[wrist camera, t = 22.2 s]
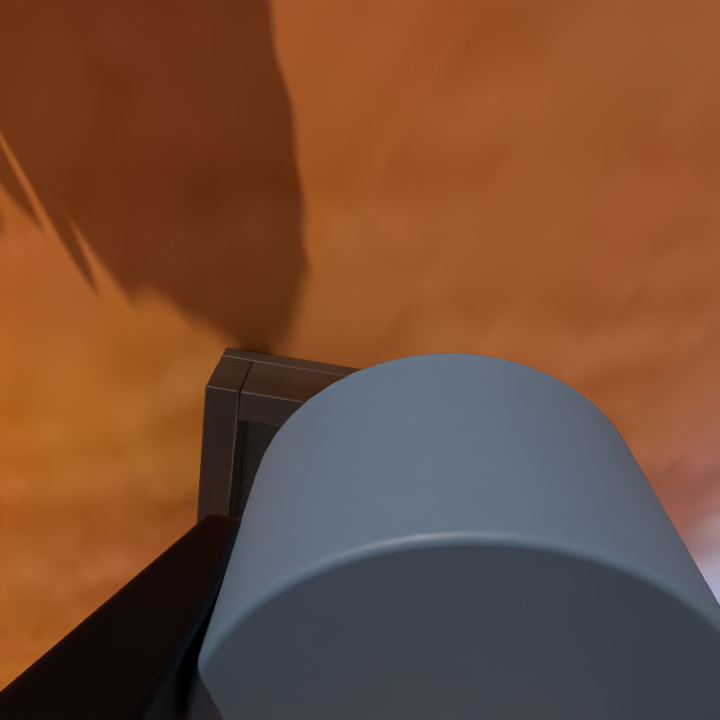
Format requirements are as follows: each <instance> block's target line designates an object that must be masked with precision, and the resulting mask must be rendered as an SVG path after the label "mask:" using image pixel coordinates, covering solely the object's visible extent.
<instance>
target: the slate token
mask: <svg viewBox="0 0 720 720" xmlns="http://www.w3.org/2000/svg"><path fill="white" fill-rule="evenodd" d="M186 720H720V605H719V603H718V602H717V600H716V598H715V596H714V595H713V593H712V591H711V589H710V588H709V586H708V584H707V583H706V581H705V579H704V577H703V576H702V574H701V572H700V570H699V569H698V567H697V565H696V564H695V562H694V560H693V558H692V557H691V555H690V553H689V551H688V550H687V548H686V546H685V544H684V543H683V541H682V539H681V538H680V536H679V534H678V532H677V531H676V529H675V527H674V525H673V524H672V522H671V520H670V519H669V517H668V515H667V513H666V512H665V510H664V508H663V506H662V505H661V503H660V501H659V499H658V498H657V496H656V494H655V493H654V491H653V489H652V487H651V486H650V484H649V482H648V480H647V479H646V477H645V475H644V474H643V472H642V470H641V468H640V467H639V465H638V463H637V461H636V460H635V458H634V456H633V455H632V453H631V451H630V449H629V448H628V446H627V444H626V442H625V441H624V439H623V438H622V436H621V435H620V434H619V432H618V431H617V429H616V428H615V427H614V425H613V424H612V422H611V421H610V420H609V419H608V418H607V417H606V416H605V415H604V414H603V413H602V412H601V411H600V410H599V409H598V408H597V407H596V406H595V405H594V404H593V403H592V402H591V401H589V400H588V399H587V398H585V397H584V396H583V395H581V394H580V393H579V392H577V391H576V390H575V389H573V388H572V387H570V386H568V385H566V384H565V383H563V382H561V381H559V380H557V379H556V378H554V377H552V376H550V375H548V374H546V373H543V372H540V371H538V370H535V369H533V368H530V367H528V366H525V365H522V364H518V363H514V362H511V361H507V360H503V359H499V358H495V357H488V356H480V355H472V354H443V353H437V354H428V355H418V356H409V357H405V358H400V359H396V360H392V361H387V362H383V363H380V364H377V365H374V366H371V367H369V368H366V369H363V370H360V371H357V372H355V373H353V374H351V375H349V376H347V377H345V378H343V379H341V380H339V381H337V382H335V383H333V384H331V385H330V386H328V387H327V388H325V389H324V390H322V391H321V392H319V393H318V394H316V395H315V396H314V397H312V398H311V399H309V400H308V401H307V402H306V403H305V404H304V405H303V406H301V407H300V408H299V409H298V410H297V411H296V412H295V413H294V414H293V415H291V417H290V418H289V419H288V420H287V421H286V423H285V424H284V425H283V426H282V427H281V429H280V430H279V431H278V432H277V433H276V435H275V437H274V438H273V440H272V442H271V443H270V445H269V447H268V448H267V450H266V452H265V453H264V456H263V458H262V461H261V463H260V466H259V468H258V471H257V473H256V477H255V480H254V483H253V486H252V489H251V492H250V495H249V498H248V501H247V504H246V507H245V510H244V513H243V516H242V521H241V525H240V528H239V531H238V535H237V538H236V541H235V544H234V547H233V551H232V554H231V557H230V560H229V563H228V566H227V569H226V572H225V575H224V579H223V582H222V585H221V588H220V591H219V594H218V597H217V600H216V603H215V606H214V609H213V612H212V615H211V618H210V620H209V623H208V626H207V629H206V632H205V635H204V637H203V640H202V643H201V646H200V649H199V652H198V655H197V658H196V661H195V664H194V667H193V670H192V673H191V676H190V681H189V686H188V691H187V696H186Z"/></svg>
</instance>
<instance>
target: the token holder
mask: <svg viewBox="0 0 720 720" xmlns="http://www.w3.org/2000/svg"><path fill="white" fill-rule="evenodd" d="M360 370H361V369H355V368H349V367H343V366H337V365H331V364H325V363H319V362H313V361H307V360H301V359H295V358H289V357H283V356H277V355H271V354H265V353H259V352H253V351H247V350H241V349H235V348H229V347H228V348H226V350H225V352H224V353H223V355H222V357H221V359H220V361H219V363H218V364H217V366H216V368H215V370H214V372H213V374H212V376H211V378H210V379H209V381H208V383H207V385H206V388H205V403H204V419H203V434H202V450H201V465H200V480H199V496H198V511H197V523H199V522H200V521H201V520H202V519H203V518H204V517H206V516H207V515H209V514H220V515H225V516H231V517H237V518H240V519H241V520H242V516H243V513H244V510H245V507H246V504H247V501H248V498H249V495H250V492H251V489H252V486H253V483H254V480H255V477H256V473H257V471H258V468H259V466H260V463H261V461H262V458H263V456H264V453H265V452H266V450H267V448H268V447H269V445H270V443H271V442H272V440H273V438H274V437H275V435H276V433H277V432H278V431H279V430H280V429H281V427H282V426H283V425H284V424H285V423H286V421H287V420H288V419H289V418H290V417H291V415H293V414H294V413H295V412H296V411H297V410H298V409H299V408H300V407H301V406H303V405H304V404H305V403H306V402H307V401H308V400H309V399H311V398H312V397H314V396H315V395H316V394H318V393H319V392H321V391H322V390H324V389H325V388H327V387H328V386H330V385H331V384H333V383H335V382H337V381H339V380H341V379H343V378H345V377H347V376H349V375H351V374H353V373H355V372H357V371H360Z"/></svg>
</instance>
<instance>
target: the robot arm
mask: <svg viewBox="0 0 720 720" xmlns="http://www.w3.org/2000/svg"><path fill="white" fill-rule="evenodd" d="M241 521H242V520H241V519H240V518H237V517H231V516H225V515H220V514H209V515H207V516H206V517H204V518H203V519H202V520H201V521H200V522H199V523H197V524H196V525H195V526H194V527H193V528H192V529H190V530H189V531H188V532H187V533H186V534H185V535H183V536H182V537H181V538H180V539H179V540H178V541H176V542H175V543H174V544H173V545H172V546H171V547H169V548H168V549H167V550H166V551H165V552H163V553H162V554H161V555H160V556H159V557H158V558H156V559H155V560H154V561H153V562H152V563H151V564H149V565H148V566H147V567H146V568H145V569H144V570H142V571H141V572H140V573H139V574H138V575H137V576H135V577H134V578H133V579H132V580H131V581H130V582H128V583H127V584H126V585H125V586H124V587H123V588H121V589H120V590H119V591H118V592H117V593H116V594H114V595H113V596H112V597H111V598H110V599H109V600H107V601H106V602H105V603H104V604H103V605H101V606H100V607H99V608H98V609H97V610H96V611H94V612H93V613H92V614H91V615H90V616H89V617H87V618H86V619H85V620H84V621H83V622H82V623H80V624H79V625H78V626H77V627H76V628H75V629H73V630H72V631H71V632H70V633H69V634H68V635H66V636H65V637H64V638H63V639H62V640H61V641H59V642H58V643H57V644H56V645H55V646H54V647H52V648H51V649H50V650H49V651H48V652H47V653H45V654H44V655H43V656H42V657H41V658H39V659H38V660H37V661H36V662H35V663H34V664H32V665H31V666H30V667H29V668H28V669H27V670H25V671H24V672H23V673H22V674H21V675H20V676H18V677H17V678H16V679H15V680H14V681H13V682H11V683H10V684H9V685H8V686H7V687H6V688H4V689H3V690H2V691H1V692H0V720H186V696H187V691H188V686H189V681H190V676H191V673H192V670H193V667H194V664H195V661H196V658H197V655H198V652H199V649H200V646H201V643H202V640H203V637H204V635H205V632H206V629H207V626H208V623H209V620H210V618H211V615H212V612H213V609H214V606H215V603H216V600H217V597H218V594H219V591H220V588H221V585H222V582H223V579H224V575H225V572H226V569H227V566H228V563H229V560H230V557H231V554H232V551H233V547H234V544H235V541H236V538H237V535H238V531H239V528H240V525H241Z"/></svg>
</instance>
